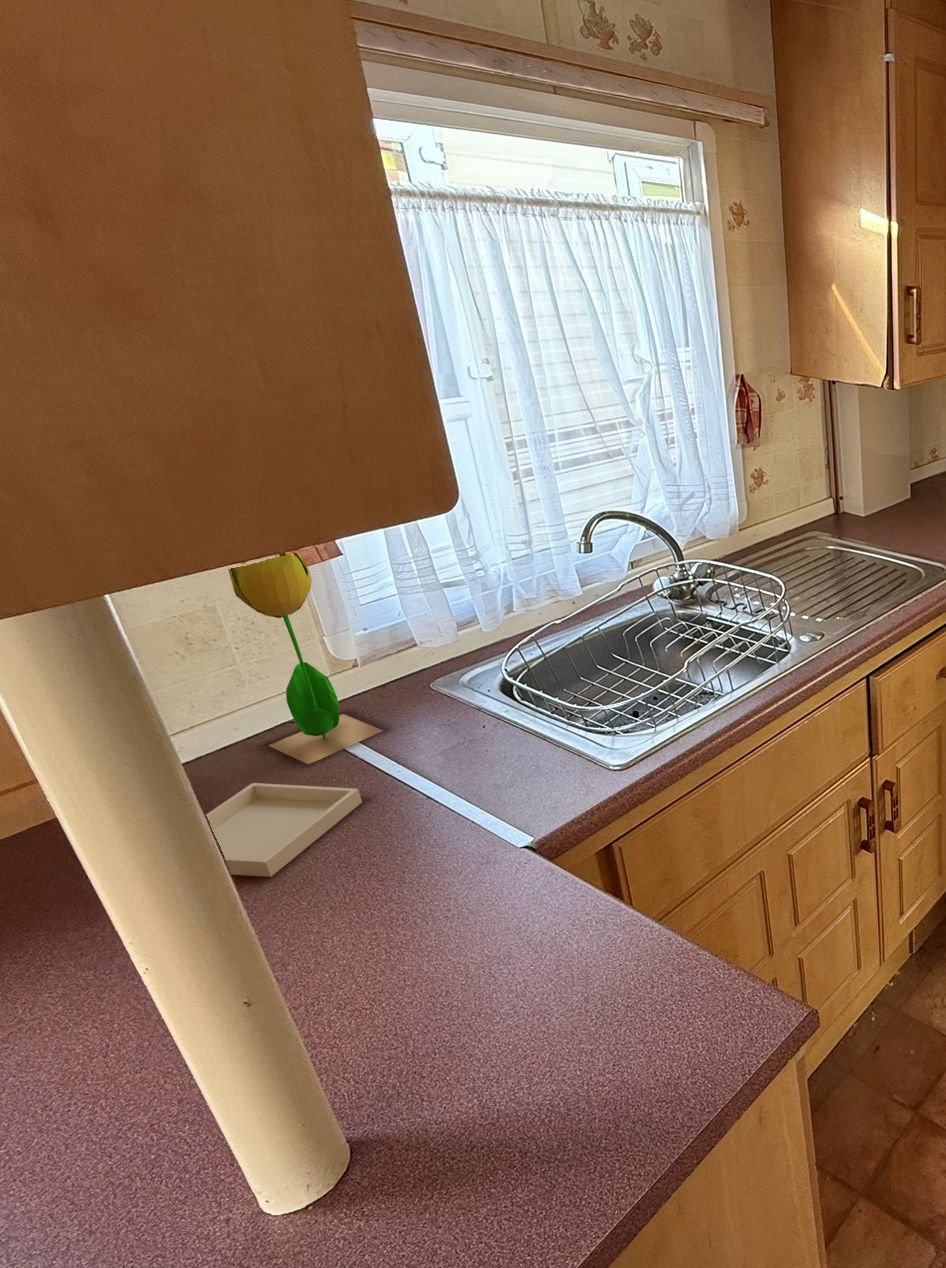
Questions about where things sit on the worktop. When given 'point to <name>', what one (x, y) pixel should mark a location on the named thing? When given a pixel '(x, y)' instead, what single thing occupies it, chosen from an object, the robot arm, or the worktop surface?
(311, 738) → the cork mat
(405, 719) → the worktop surface
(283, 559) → the flower
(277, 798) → the baking tray
